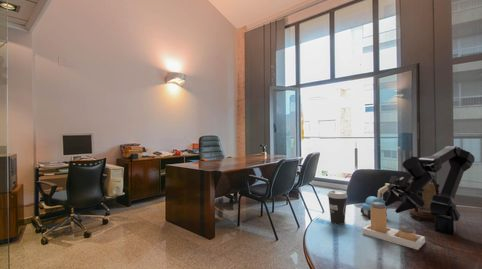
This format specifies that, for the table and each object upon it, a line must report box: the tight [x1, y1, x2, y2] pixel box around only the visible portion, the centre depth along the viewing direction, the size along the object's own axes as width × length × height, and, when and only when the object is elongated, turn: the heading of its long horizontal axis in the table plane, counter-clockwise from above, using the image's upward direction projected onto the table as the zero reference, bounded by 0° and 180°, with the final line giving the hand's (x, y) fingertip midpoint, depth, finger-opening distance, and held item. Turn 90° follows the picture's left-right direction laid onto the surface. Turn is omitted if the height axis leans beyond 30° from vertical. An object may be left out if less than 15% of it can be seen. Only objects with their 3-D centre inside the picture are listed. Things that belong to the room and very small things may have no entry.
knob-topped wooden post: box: [370, 202, 388, 233], centre depth 105 cm, size 5×5×13 cm
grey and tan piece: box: [397, 224, 417, 242], centre depth 97 cm, size 5×5×6 cm
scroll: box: [409, 180, 440, 222], centre depth 127 cm, size 15×15×20 cm
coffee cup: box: [326, 190, 348, 225], centre depth 124 cm, size 10×10×15 cm
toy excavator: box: [360, 182, 391, 219], centre depth 131 cm, size 9×17×17 cm, turn 94°
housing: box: [362, 223, 426, 251], centre depth 101 cm, size 20×9×4 cm, turn 40°
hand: (390, 208), depth 105 cm, fingers open, 9 cm apart
